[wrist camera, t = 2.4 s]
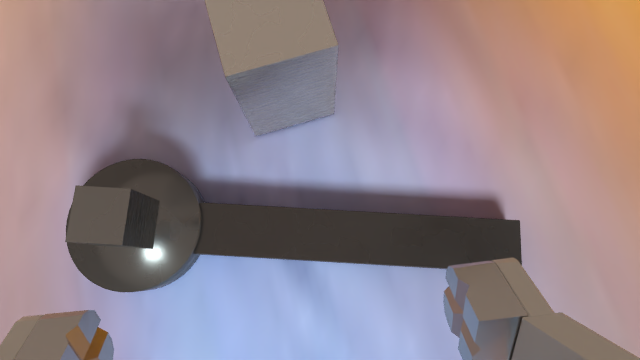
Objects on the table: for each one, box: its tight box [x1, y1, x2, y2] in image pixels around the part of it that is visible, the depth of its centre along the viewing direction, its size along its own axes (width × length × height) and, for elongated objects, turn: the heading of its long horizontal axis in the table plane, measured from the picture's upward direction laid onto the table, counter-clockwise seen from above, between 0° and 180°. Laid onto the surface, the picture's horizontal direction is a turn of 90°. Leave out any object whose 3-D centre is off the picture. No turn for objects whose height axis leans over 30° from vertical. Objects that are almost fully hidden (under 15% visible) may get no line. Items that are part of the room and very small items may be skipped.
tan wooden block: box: [205, 0, 338, 136], centre depth 22 cm, size 5×5×8 cm
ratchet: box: [65, 159, 522, 292], centre depth 22 cm, size 25×7×5 cm, turn 87°
